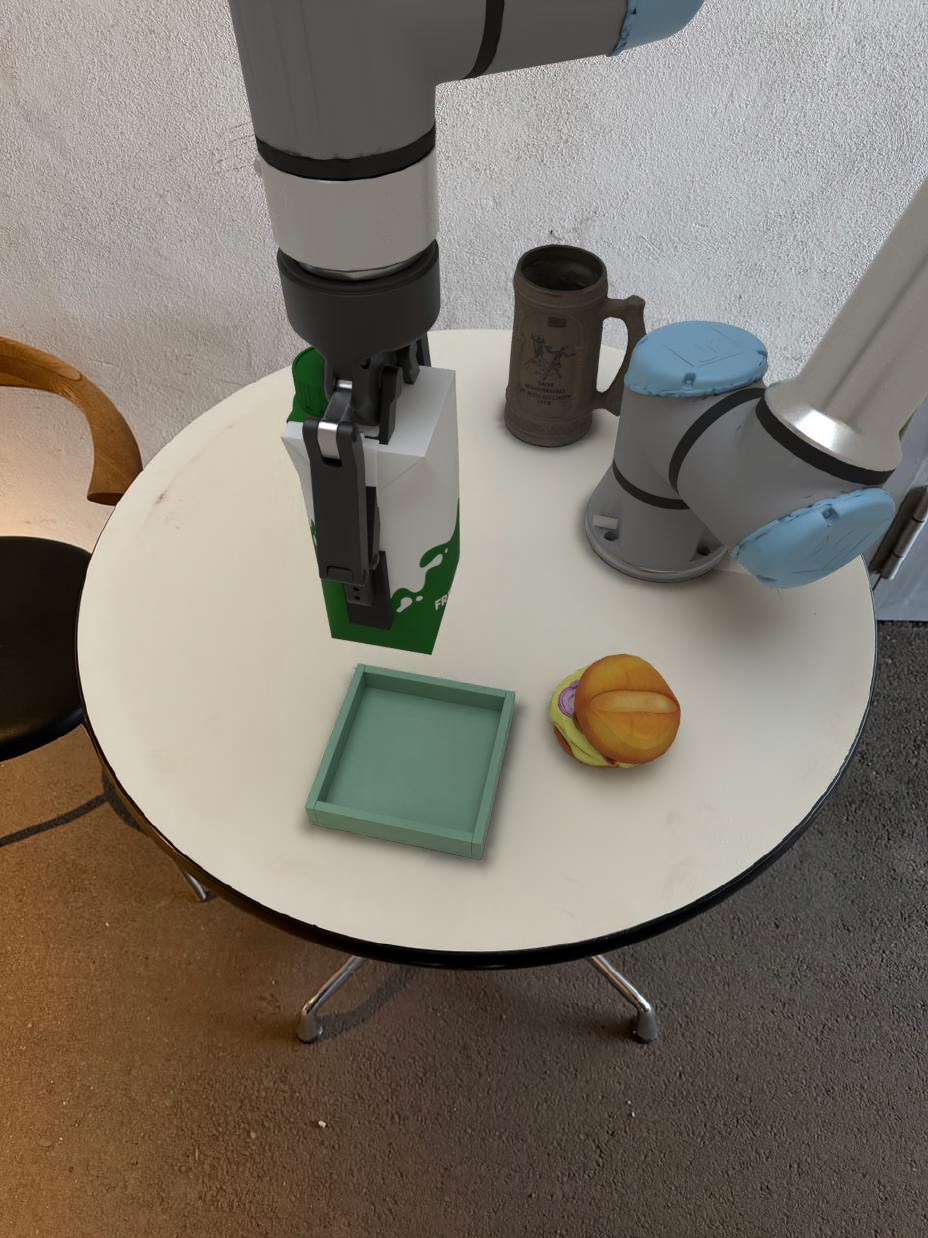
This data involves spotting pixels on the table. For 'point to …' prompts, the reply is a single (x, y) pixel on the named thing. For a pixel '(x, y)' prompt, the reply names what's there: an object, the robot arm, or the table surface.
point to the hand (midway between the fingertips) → (392, 567)
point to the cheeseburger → (615, 713)
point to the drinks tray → (414, 760)
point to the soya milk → (397, 502)
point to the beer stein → (563, 344)
